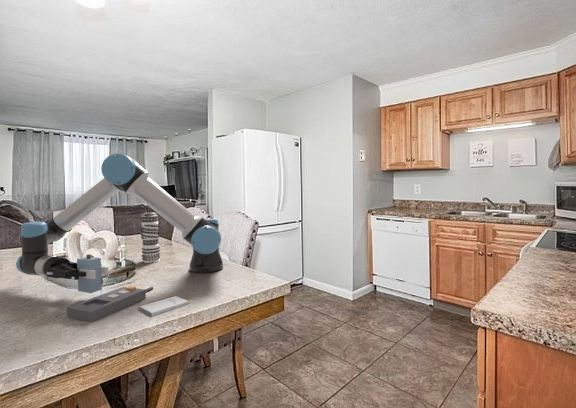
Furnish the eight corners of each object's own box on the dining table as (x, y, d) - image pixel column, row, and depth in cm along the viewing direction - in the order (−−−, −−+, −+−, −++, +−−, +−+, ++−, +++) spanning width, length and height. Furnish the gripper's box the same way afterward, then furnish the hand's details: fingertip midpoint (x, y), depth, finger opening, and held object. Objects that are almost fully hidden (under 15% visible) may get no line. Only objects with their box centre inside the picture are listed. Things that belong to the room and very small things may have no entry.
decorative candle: (164, 259, 164) (163, 212, 162) (150, 263, 156) (148, 213, 154) (152, 258, 168) (150, 211, 166) (137, 262, 159) (135, 213, 158)
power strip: (142, 287, 119) (142, 277, 119) (163, 290, 116) (163, 280, 115) (67, 317, 92) (66, 304, 92) (91, 322, 89) (91, 309, 89)
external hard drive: (138, 311, 98) (175, 299, 108) (151, 318, 93) (188, 305, 103) (138, 306, 98) (174, 295, 108) (151, 312, 93) (188, 300, 102)
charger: (89, 287, 110) (87, 253, 109) (101, 289, 108) (100, 254, 107) (78, 291, 106) (76, 255, 105) (90, 293, 104) (89, 256, 103)
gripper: (77, 271, 121) (122, 277, 113) (27, 284, 105) (76, 292, 97) (76, 251, 120) (122, 256, 112) (26, 261, 104) (75, 268, 96)
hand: (100, 273), depth 105 cm, fingers closed on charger, 4 cm apart
